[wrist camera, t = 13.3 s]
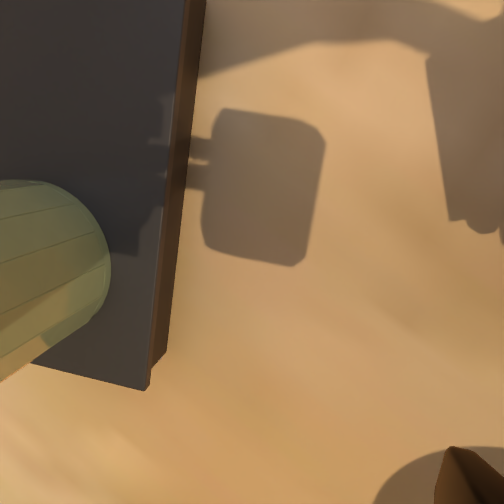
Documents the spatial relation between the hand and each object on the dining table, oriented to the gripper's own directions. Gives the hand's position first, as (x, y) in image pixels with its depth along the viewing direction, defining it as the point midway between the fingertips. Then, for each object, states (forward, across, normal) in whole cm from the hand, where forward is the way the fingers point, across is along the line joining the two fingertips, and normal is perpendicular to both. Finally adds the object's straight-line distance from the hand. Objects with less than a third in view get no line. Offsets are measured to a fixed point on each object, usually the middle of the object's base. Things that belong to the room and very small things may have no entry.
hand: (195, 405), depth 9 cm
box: (+13, +10, -2) cm, 16 cm away
